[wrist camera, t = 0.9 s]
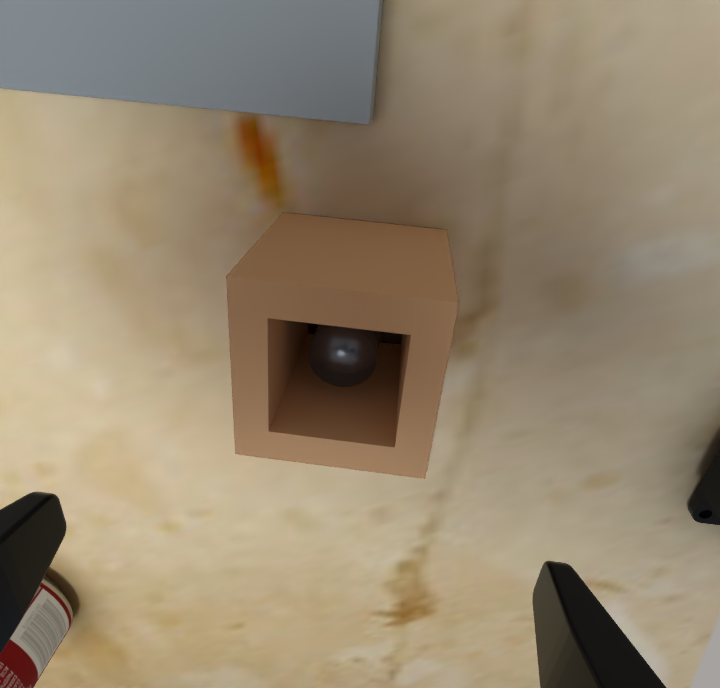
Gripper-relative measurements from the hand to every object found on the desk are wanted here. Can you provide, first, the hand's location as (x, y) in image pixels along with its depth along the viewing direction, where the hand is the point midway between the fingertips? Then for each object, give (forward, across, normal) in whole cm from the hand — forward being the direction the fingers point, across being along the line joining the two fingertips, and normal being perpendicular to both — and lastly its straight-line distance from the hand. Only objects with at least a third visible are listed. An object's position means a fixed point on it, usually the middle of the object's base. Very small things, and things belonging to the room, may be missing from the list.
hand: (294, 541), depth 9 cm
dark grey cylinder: (+11, 0, 0) cm, 11 cm away
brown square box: (+11, 0, 0) cm, 11 cm away
